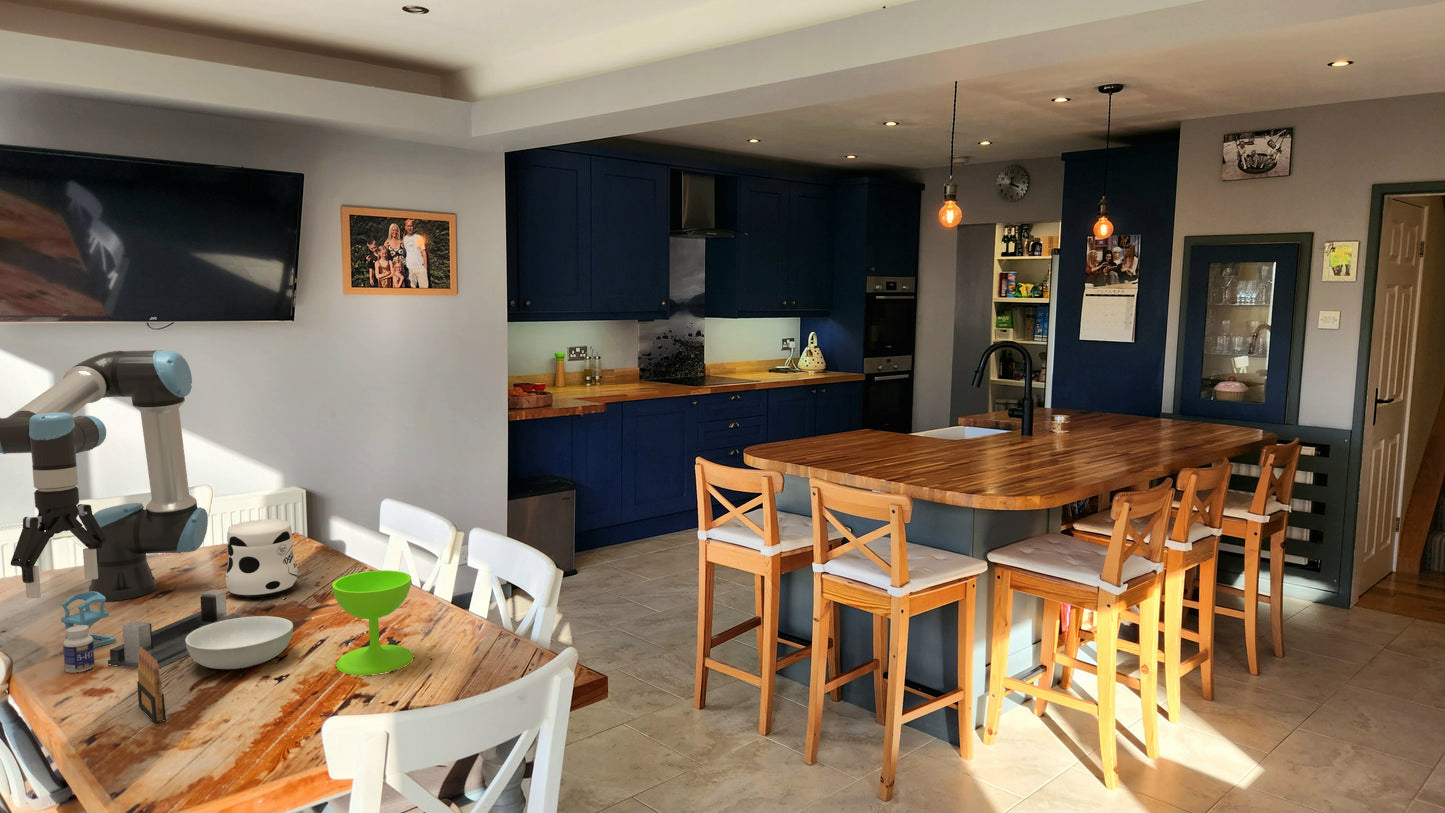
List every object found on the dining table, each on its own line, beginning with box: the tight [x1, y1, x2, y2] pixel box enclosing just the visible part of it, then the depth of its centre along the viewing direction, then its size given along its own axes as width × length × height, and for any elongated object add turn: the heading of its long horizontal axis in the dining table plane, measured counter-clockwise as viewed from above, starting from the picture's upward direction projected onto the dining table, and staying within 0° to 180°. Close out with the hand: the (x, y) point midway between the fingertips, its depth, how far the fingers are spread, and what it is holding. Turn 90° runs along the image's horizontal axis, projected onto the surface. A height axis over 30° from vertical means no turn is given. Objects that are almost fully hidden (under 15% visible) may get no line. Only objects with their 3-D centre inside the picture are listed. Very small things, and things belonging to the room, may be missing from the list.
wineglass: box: [331, 569, 414, 675], centre depth 206 cm, size 16×16×18 cm
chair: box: [60, 591, 117, 648], centre depth 214 cm, size 8×8×12 cm
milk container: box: [224, 518, 299, 598], centre depth 253 cm, size 17×17×18 cm
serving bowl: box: [185, 615, 294, 670], centre depth 206 cm, size 21×21×7 cm
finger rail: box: [107, 589, 241, 669], centre depth 215 cm, size 26×12×9 cm, turn 166°
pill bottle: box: [62, 625, 96, 674], centre depth 201 cm, size 5×5×9 cm
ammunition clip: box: [136, 647, 167, 724], centre depth 180 cm, size 11×2×12 cm, turn 45°
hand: (63, 587), depth 199 cm, fingers open, 13 cm apart
